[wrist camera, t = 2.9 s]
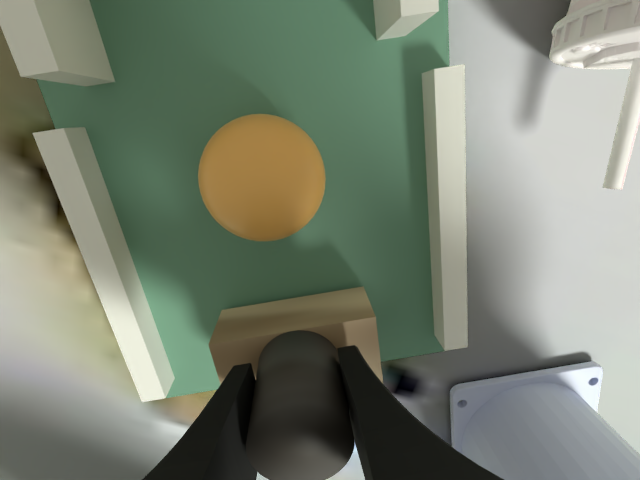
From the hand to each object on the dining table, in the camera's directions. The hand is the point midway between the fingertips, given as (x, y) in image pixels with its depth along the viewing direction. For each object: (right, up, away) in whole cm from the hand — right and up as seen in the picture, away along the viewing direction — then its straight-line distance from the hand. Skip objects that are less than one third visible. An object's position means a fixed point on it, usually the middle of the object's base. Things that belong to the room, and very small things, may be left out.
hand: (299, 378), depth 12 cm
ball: (-1, +7, -1) cm, 7 cm away
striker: (0, +1, +3) cm, 3 cm away
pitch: (-1, +7, +2) cm, 8 cm away
